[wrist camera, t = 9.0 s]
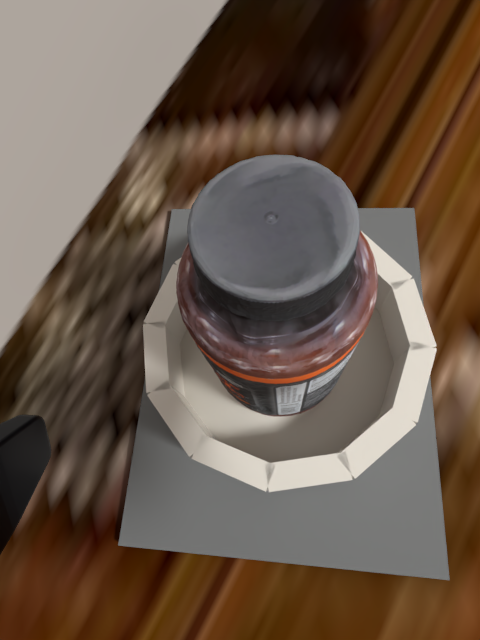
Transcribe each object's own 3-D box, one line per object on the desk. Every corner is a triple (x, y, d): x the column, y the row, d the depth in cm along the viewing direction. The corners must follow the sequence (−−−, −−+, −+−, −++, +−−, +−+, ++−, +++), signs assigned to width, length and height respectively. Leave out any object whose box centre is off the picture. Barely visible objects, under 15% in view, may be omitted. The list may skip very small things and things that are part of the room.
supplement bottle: (195, 344, 20) (98, 198, 10) (291, 280, 21) (296, 81, 11) (264, 447, 18) (233, 399, 8) (368, 371, 19) (469, 235, 8)
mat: (446, 577, 17) (449, 580, 16) (121, 544, 19) (118, 545, 18) (412, 212, 23) (414, 208, 23) (173, 213, 25) (172, 209, 25)
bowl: (462, 374, 19) (497, 352, 16) (265, 546, 18) (260, 562, 14) (296, 216, 23) (297, 173, 20) (123, 342, 22) (95, 318, 18)
